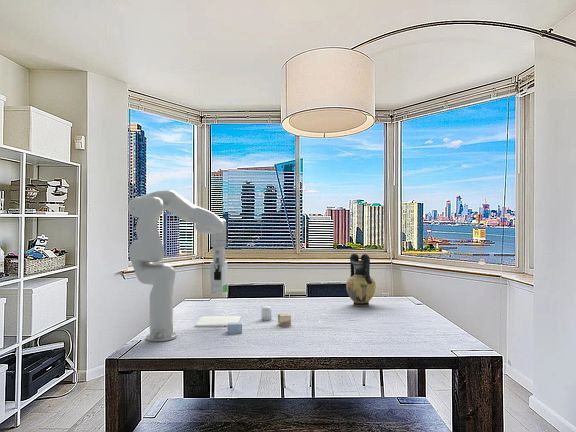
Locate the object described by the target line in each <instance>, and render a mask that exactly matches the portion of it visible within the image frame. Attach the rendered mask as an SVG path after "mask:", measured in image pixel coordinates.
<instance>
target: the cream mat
mask: <svg viewBox="0 0 576 432" xmlns="http://www.w3.org/2000/svg"><path fill="white" fill-rule="evenodd" d="M241 319H242V315H220V316H219V315H217V316H216V315H214V316H213V315H211V316H210V315H209V316H206V315H205V316H204V315H203V316H201V317H200V318H199V320H197V322H196V323H195V324H194V328H200V327H201V328H203V327H204V328H206V327H207V328H213V327H214V328H215V327H219V328H220V327H222V328H223V327H224V326H225V327H226V328H227V327H228V323H233V322H241ZM225 327H224V328H225Z"/></svg>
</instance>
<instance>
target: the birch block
mask: <svg viewBox="0 0 576 432" xmlns="http://www.w3.org/2000/svg"><path fill="white" fill-rule="evenodd" d="M277 325H278V326H279V327H289V326H290V327H291V326H292V315H291V314H290V313H288V312H287V313H277Z"/></svg>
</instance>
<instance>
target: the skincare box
mask: <svg viewBox="0 0 576 432" xmlns="http://www.w3.org/2000/svg"><path fill="white" fill-rule="evenodd" d="M209 265H210V267H209V269H210V273H209V275H210V280H209V281H210V296H211V295H212V296H215V295H216V296H217V295H219V296H223V295H225V294H227V293H229V291H228V290H229V289H228V288H229V287H228V261H225V262H224V267H222V266H220V272H221V280H214V268H215V267H214V266H215V264H214V266H213V261H211V262H210V263H209ZM218 265H220V263H218Z"/></svg>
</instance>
